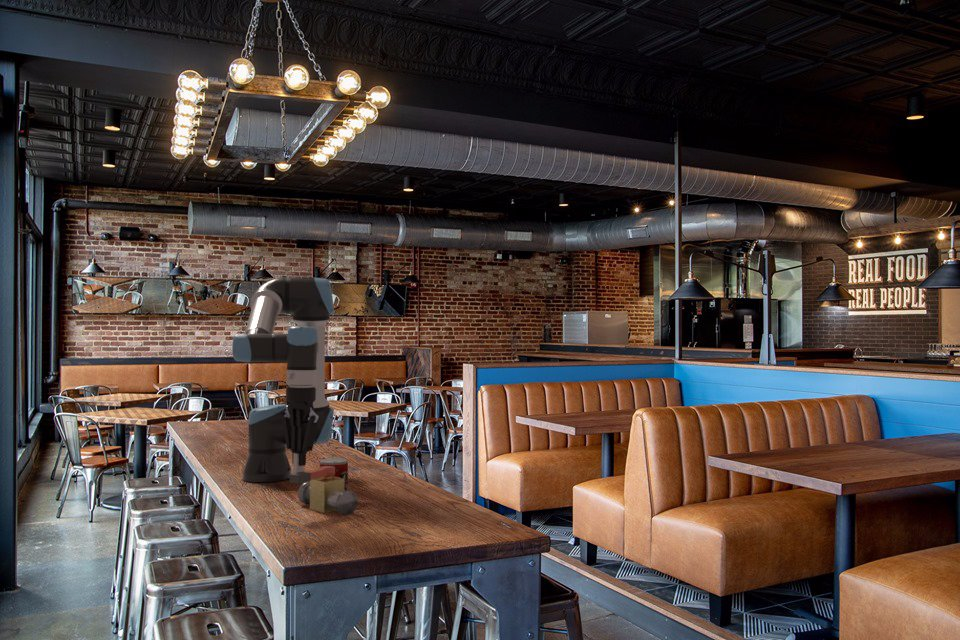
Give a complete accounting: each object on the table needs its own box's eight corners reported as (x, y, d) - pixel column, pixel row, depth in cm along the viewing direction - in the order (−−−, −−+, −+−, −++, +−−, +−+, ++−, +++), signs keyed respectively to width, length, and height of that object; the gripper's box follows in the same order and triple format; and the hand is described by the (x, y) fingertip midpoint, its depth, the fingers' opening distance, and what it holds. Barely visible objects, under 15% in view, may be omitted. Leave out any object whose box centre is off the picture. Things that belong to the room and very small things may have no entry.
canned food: (334, 504, 202) (335, 463, 203) (313, 500, 207) (313, 460, 207) (353, 498, 209) (353, 459, 209) (332, 495, 213) (332, 457, 213)
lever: (326, 473, 199) (326, 465, 199) (338, 474, 197) (338, 466, 197) (288, 482, 187) (288, 474, 187) (299, 483, 185) (299, 475, 185)
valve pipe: (297, 505, 200) (297, 473, 201) (316, 501, 205) (317, 470, 205) (338, 517, 188) (338, 482, 188) (358, 512, 193) (358, 479, 193)
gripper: (273, 385, 192) (270, 476, 191) (306, 388, 184) (304, 483, 184) (295, 384, 198) (293, 472, 197) (329, 387, 190) (326, 479, 190)
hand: (298, 477), depth 191 cm, fingers closed
